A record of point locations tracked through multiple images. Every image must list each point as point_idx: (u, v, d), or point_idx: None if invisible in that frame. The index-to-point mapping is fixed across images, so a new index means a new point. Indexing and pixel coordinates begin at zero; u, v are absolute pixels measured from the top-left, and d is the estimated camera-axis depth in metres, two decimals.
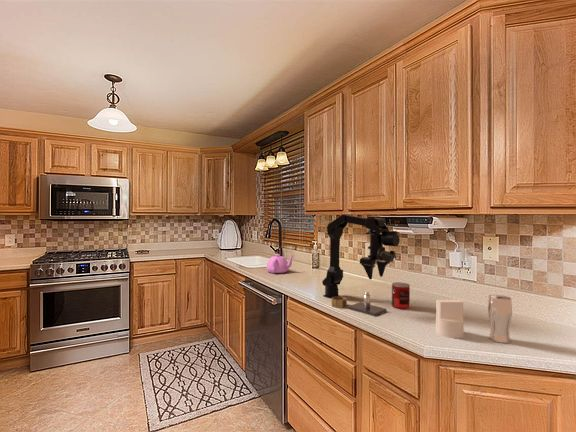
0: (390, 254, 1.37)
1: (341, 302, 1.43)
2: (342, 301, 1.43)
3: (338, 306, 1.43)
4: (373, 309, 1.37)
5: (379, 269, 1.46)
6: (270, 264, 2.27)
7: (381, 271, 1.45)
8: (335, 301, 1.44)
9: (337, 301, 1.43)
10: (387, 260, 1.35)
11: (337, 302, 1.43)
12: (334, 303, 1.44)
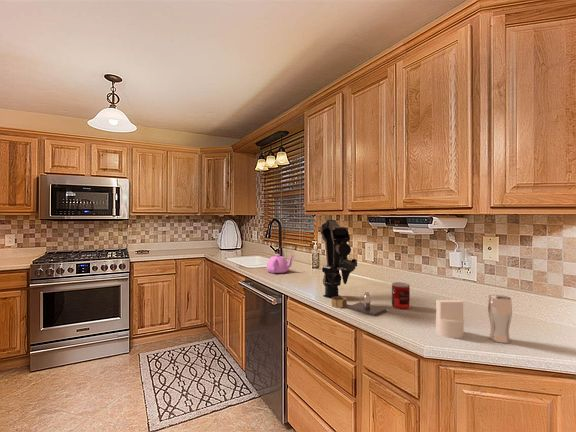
0: (351, 262, 1.42)
1: (341, 302, 1.43)
2: (342, 301, 1.43)
3: (338, 306, 1.43)
4: (373, 309, 1.37)
5: (343, 277, 1.51)
6: (270, 264, 2.27)
7: (345, 279, 1.50)
8: (335, 301, 1.44)
9: (337, 301, 1.43)
10: (348, 268, 1.40)
11: (337, 302, 1.43)
12: (334, 303, 1.44)
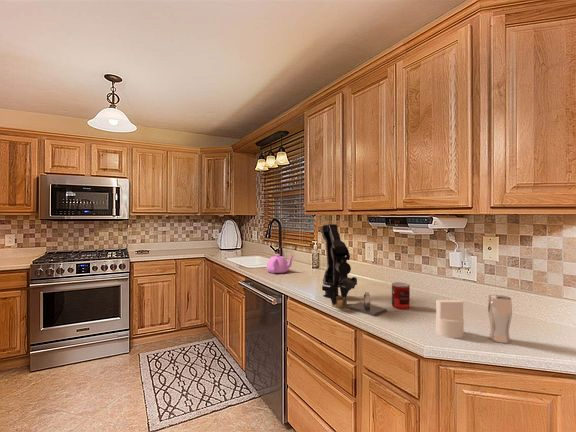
0: (351, 281, 1.42)
1: (341, 302, 1.43)
2: (342, 301, 1.43)
3: (338, 306, 1.43)
4: (373, 309, 1.37)
5: (342, 294, 1.50)
6: (270, 264, 2.27)
7: (343, 296, 1.49)
8: None
9: (337, 301, 1.43)
10: (348, 287, 1.40)
11: (337, 302, 1.43)
12: None
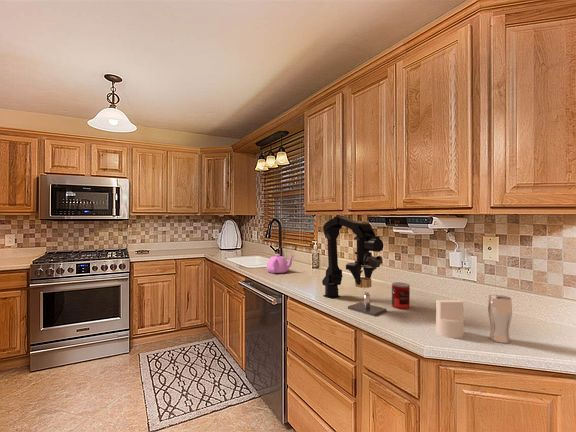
0: (376, 259, 1.35)
1: (366, 282, 1.37)
2: (367, 281, 1.37)
3: (363, 286, 1.37)
4: (373, 309, 1.37)
5: (366, 275, 1.43)
6: (270, 264, 2.27)
7: (368, 277, 1.43)
8: None
9: (362, 281, 1.37)
10: (373, 265, 1.33)
11: (362, 282, 1.37)
12: None
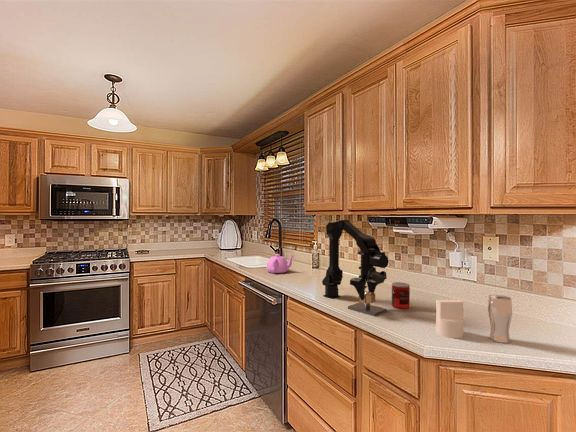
0: (381, 275, 1.35)
1: (370, 297, 1.36)
2: (371, 296, 1.36)
3: (367, 301, 1.36)
4: (373, 309, 1.37)
5: (369, 289, 1.43)
6: (270, 264, 2.27)
7: None
8: None
9: (366, 296, 1.36)
10: (377, 281, 1.33)
11: (366, 297, 1.36)
12: None
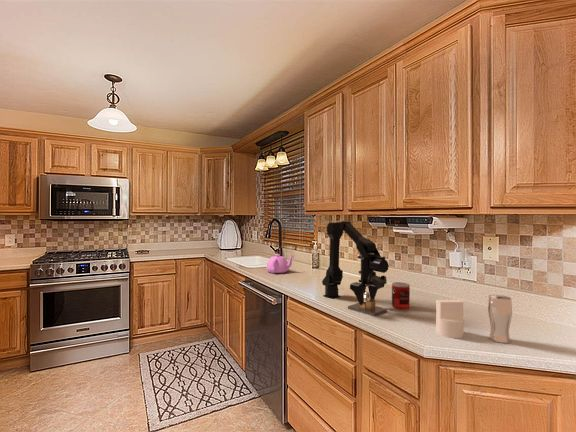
0: (381, 280, 1.35)
1: (370, 304, 1.36)
2: (371, 303, 1.36)
3: (367, 308, 1.36)
4: (373, 309, 1.37)
5: (370, 293, 1.43)
6: (270, 264, 2.27)
7: (372, 296, 1.43)
8: (363, 303, 1.37)
9: (366, 303, 1.36)
10: (377, 286, 1.33)
11: (366, 304, 1.36)
12: (362, 305, 1.37)
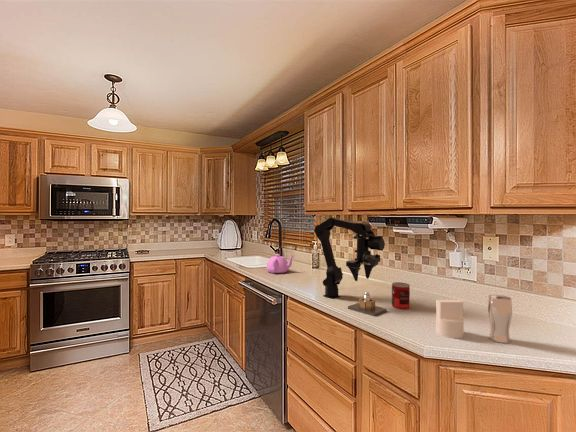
0: (375, 258, 1.45)
1: (370, 304, 1.36)
2: (371, 303, 1.36)
3: (367, 308, 1.36)
4: (373, 309, 1.37)
5: (366, 271, 1.54)
6: (270, 264, 2.27)
7: (367, 273, 1.53)
8: (363, 303, 1.37)
9: (366, 303, 1.36)
10: (371, 263, 1.43)
11: (366, 304, 1.36)
12: (362, 305, 1.37)
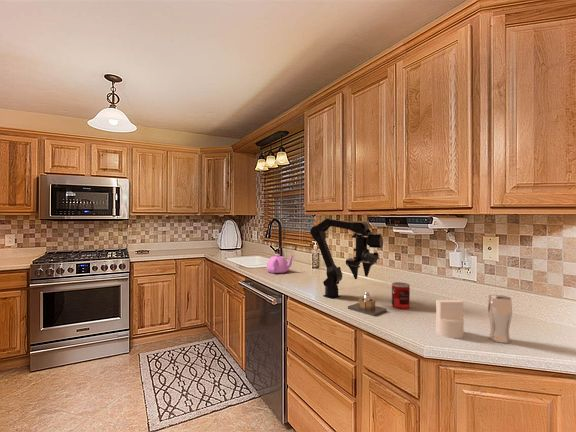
0: (373, 255, 1.49)
1: (370, 304, 1.36)
2: (371, 303, 1.36)
3: (367, 308, 1.36)
4: (373, 309, 1.37)
5: (364, 269, 1.58)
6: (270, 264, 2.27)
7: (366, 271, 1.57)
8: (363, 303, 1.37)
9: (366, 303, 1.36)
10: (370, 261, 1.47)
11: (366, 304, 1.36)
12: (362, 305, 1.37)
